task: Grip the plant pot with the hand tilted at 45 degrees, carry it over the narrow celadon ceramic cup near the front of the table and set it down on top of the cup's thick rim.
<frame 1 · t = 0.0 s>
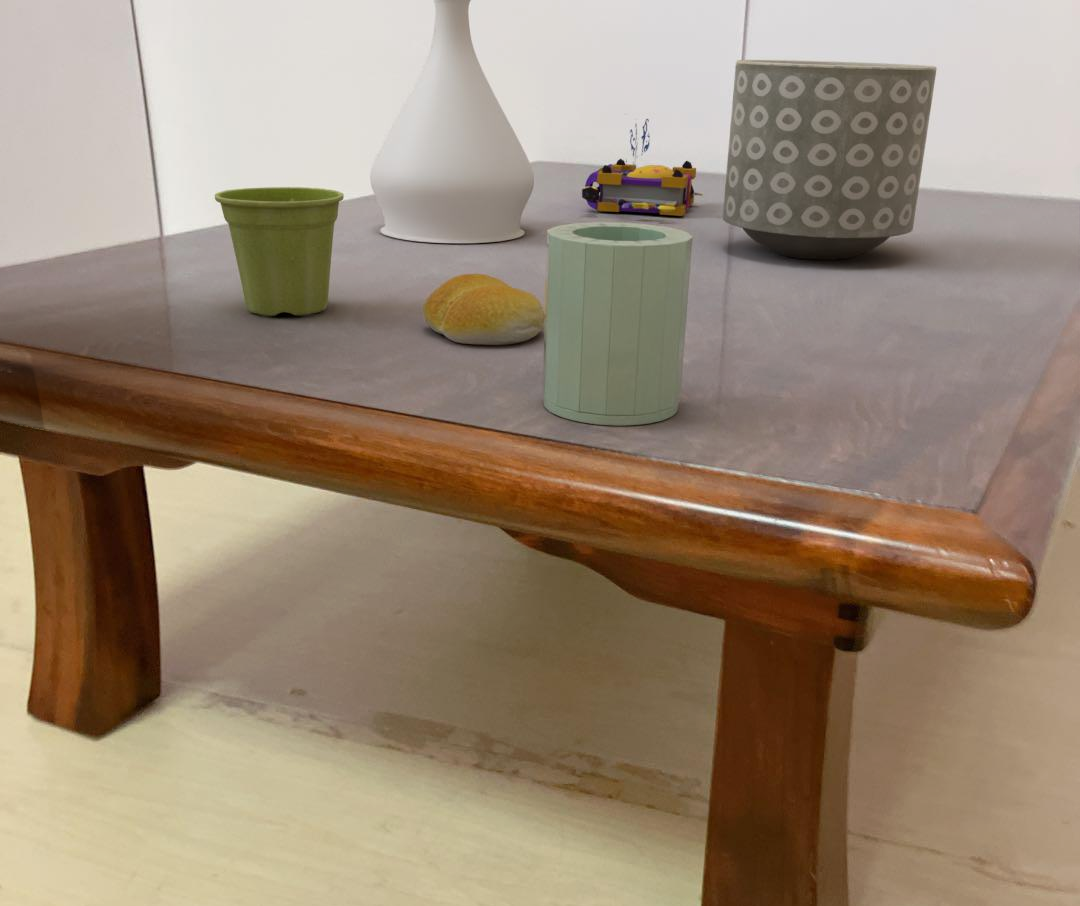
vase: (452, 233, 128), on the table
planter: (812, 254, 121), on the table
multicoloured boxy piece: (640, 209, 150), on the table
cup: (610, 405, 70), on the table
bread roll: (483, 335, 86), on the table
plant pot: (286, 312, 91), on the table
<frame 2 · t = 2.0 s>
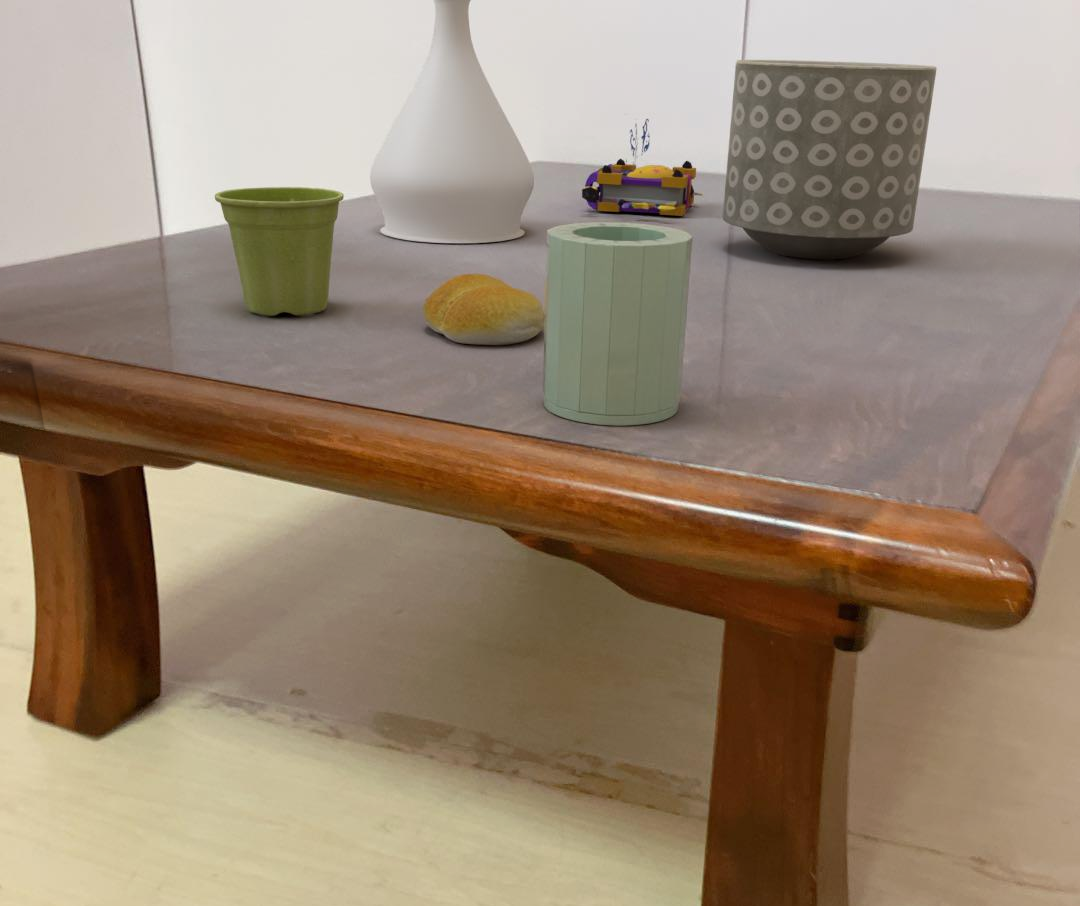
nothing on the table moved.
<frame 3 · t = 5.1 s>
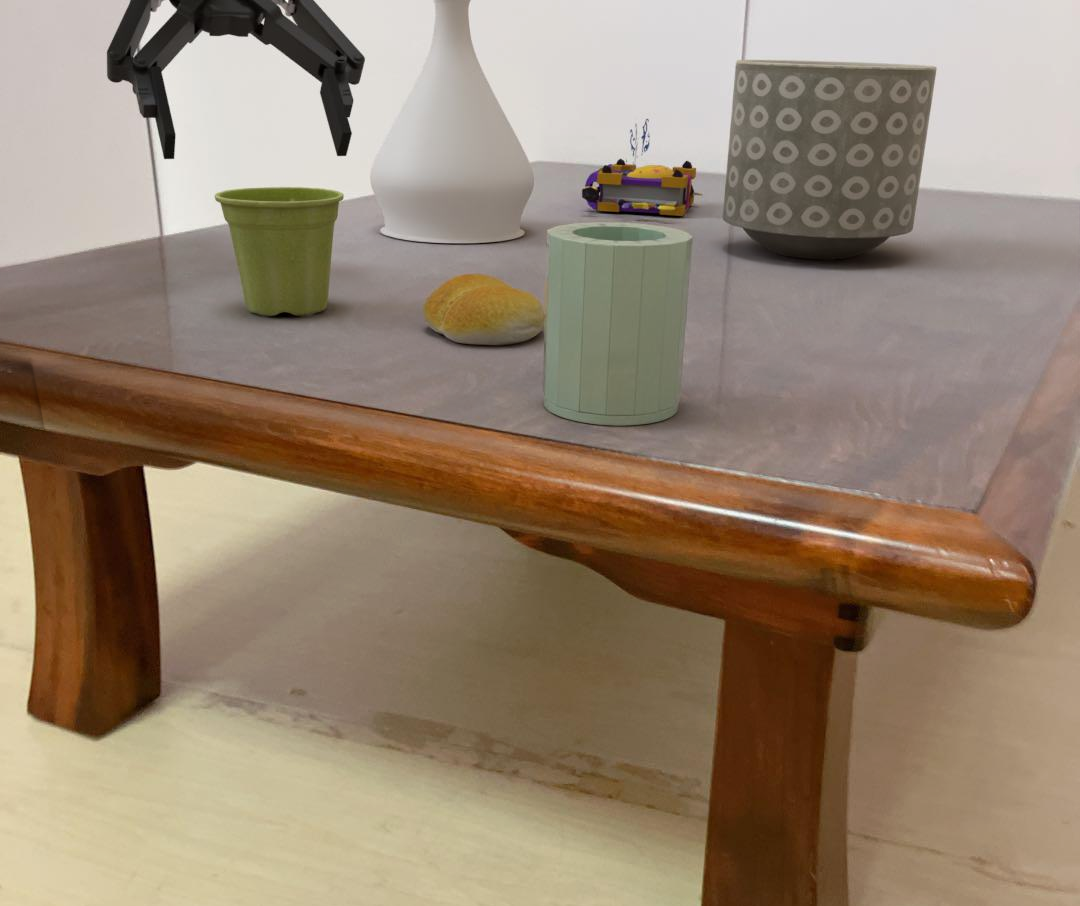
hand: (259, 146, 92), 11 cm above the table, tool tilted 45°, fingers open, 13 cm apart
nothing on the table moved.
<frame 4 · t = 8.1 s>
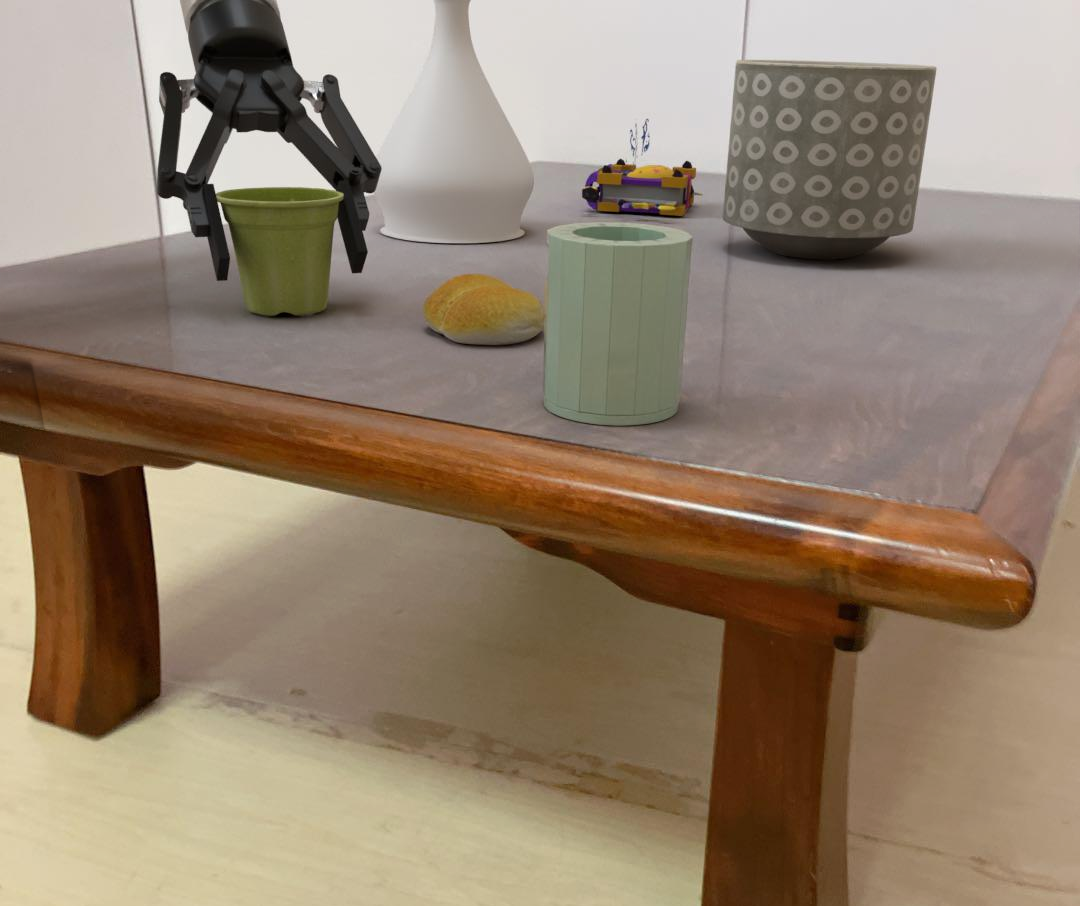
hand: (293, 266, 87), 4 cm above the table, tool tilted 45°, fingers closed on plant pot, 9 cm apart
plant pot: (286, 312, 91), on the table, touching gripper
everything else where it was.
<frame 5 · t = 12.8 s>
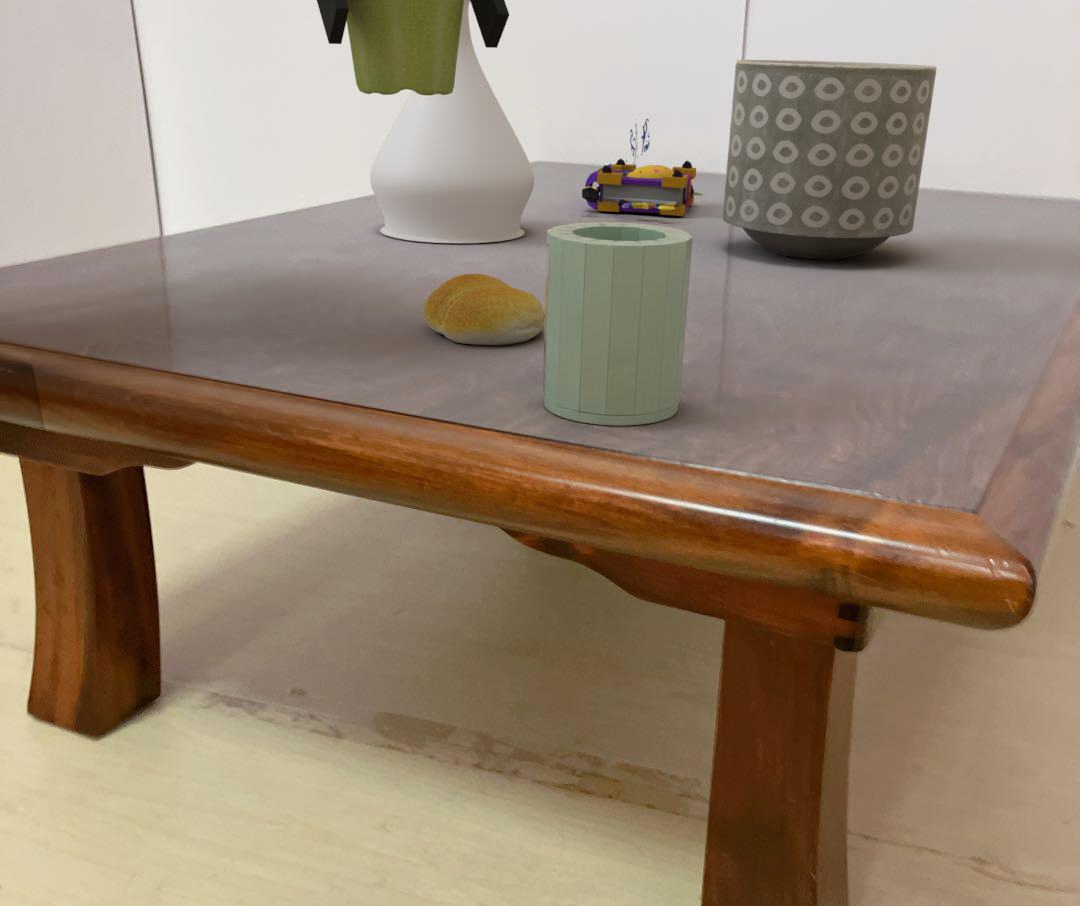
hand: (420, 29, 71), 20 cm above the table, tool tilted 45°, fingers closed on plant pot, 9 cm apart
plant pot: (404, 97, 75), point 16 cm above the table, touching gripper
everything else where it was.
when the fingers open (14 cm above the table, at t = 17.9 s): plant pot stays where it is, resting on cup.
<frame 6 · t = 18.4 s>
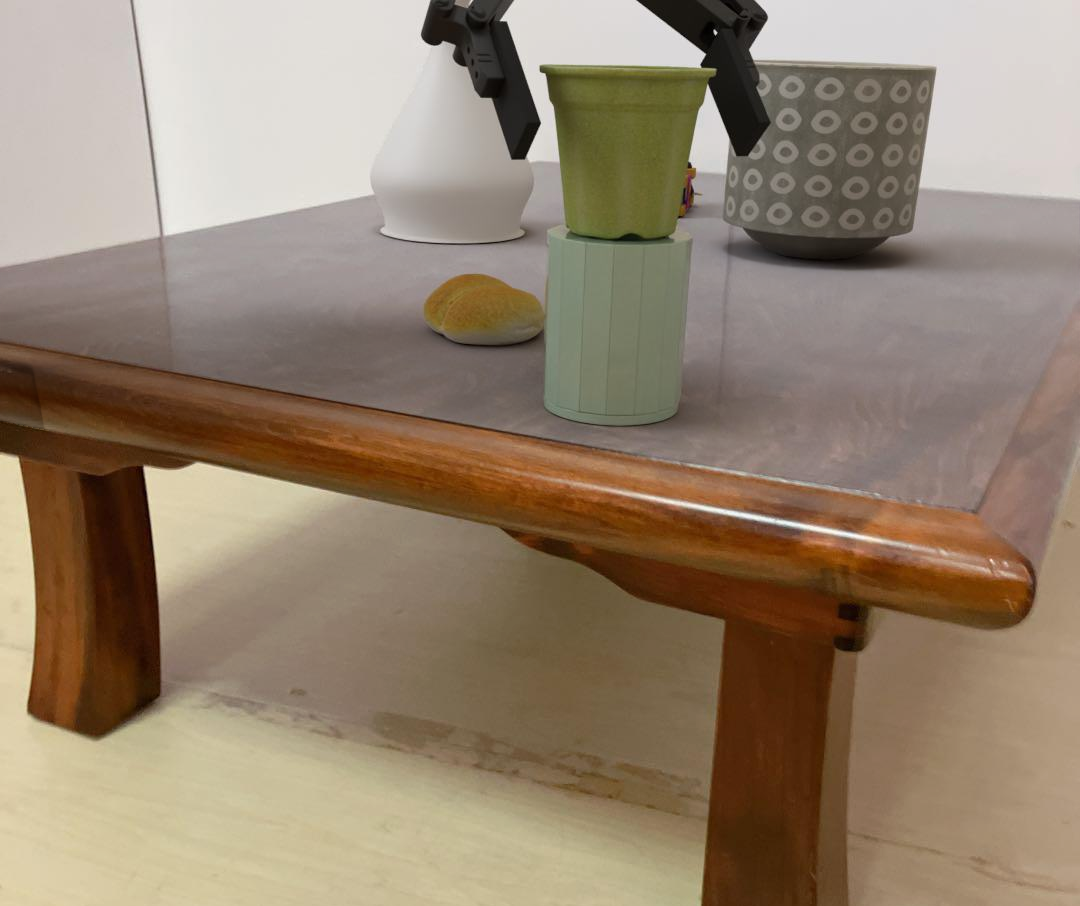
hand: (644, 141, 62), 15 cm above the table, tool tilted 45°, fingers open, 13 cm apart
plant pot: (618, 236, 66), point 10 cm above the table, touching cup
everything else where it was.
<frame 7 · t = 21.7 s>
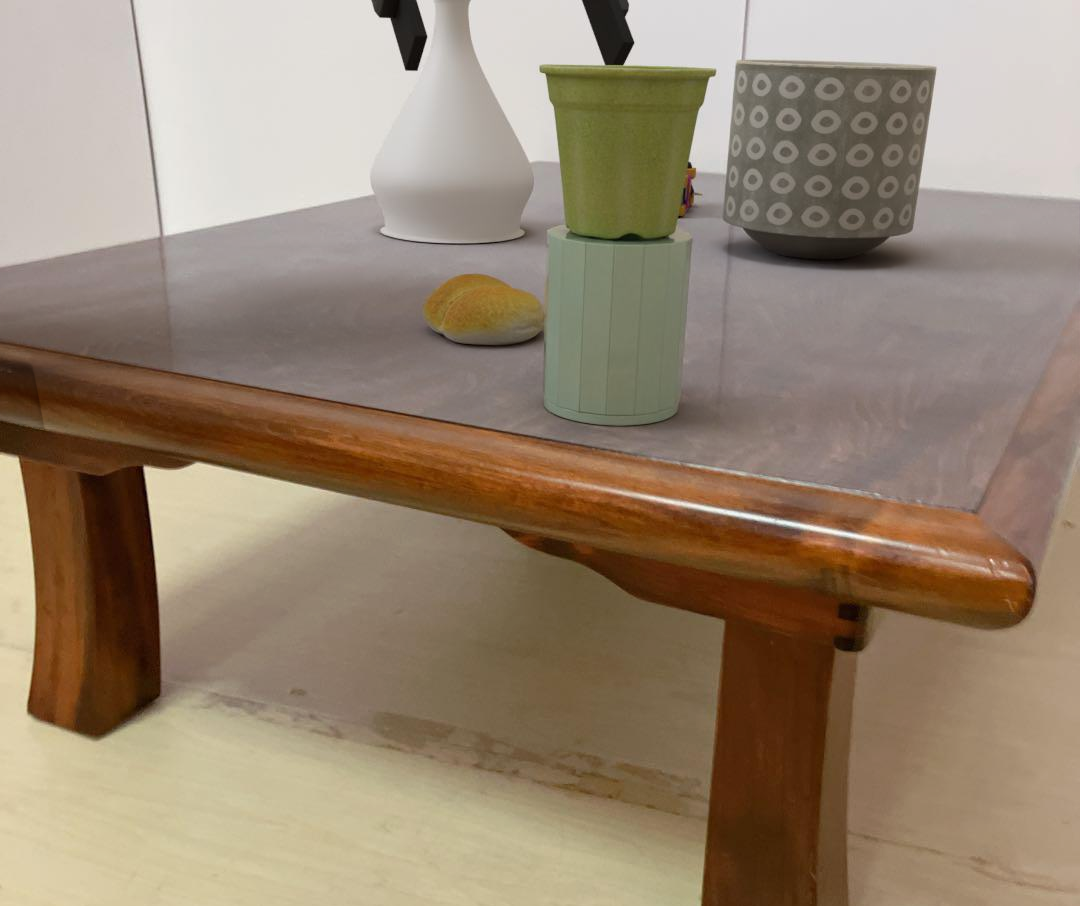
hand: (522, 57, 72), 19 cm above the table, tool tilted 45°, fingers open, 13 cm apart
nothing on the table moved.
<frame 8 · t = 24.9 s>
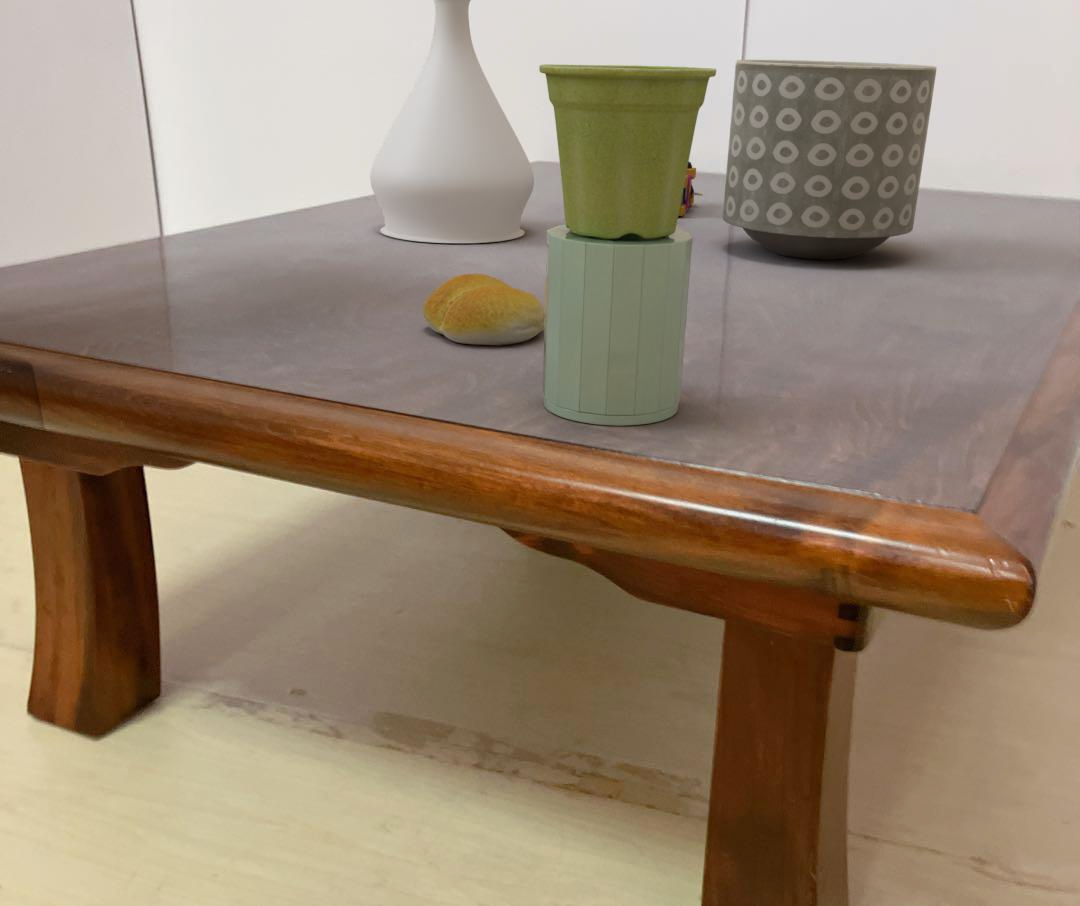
nothing on the table moved.
at the end: plant pot 0.0 cm off-centre on the cup, point 9.8 cm above the cup's base; plant pot tilted 0°; the gripper is holding nothing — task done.
